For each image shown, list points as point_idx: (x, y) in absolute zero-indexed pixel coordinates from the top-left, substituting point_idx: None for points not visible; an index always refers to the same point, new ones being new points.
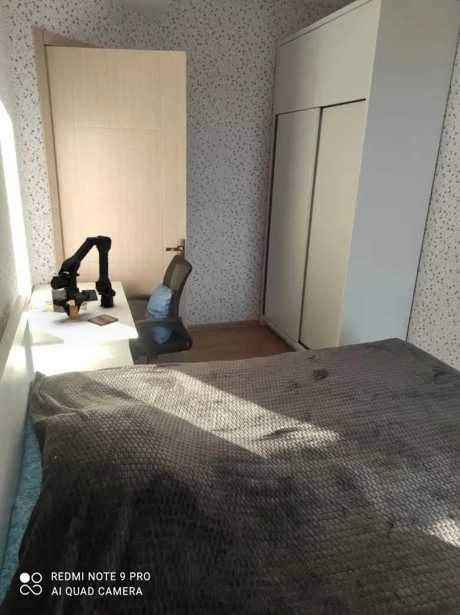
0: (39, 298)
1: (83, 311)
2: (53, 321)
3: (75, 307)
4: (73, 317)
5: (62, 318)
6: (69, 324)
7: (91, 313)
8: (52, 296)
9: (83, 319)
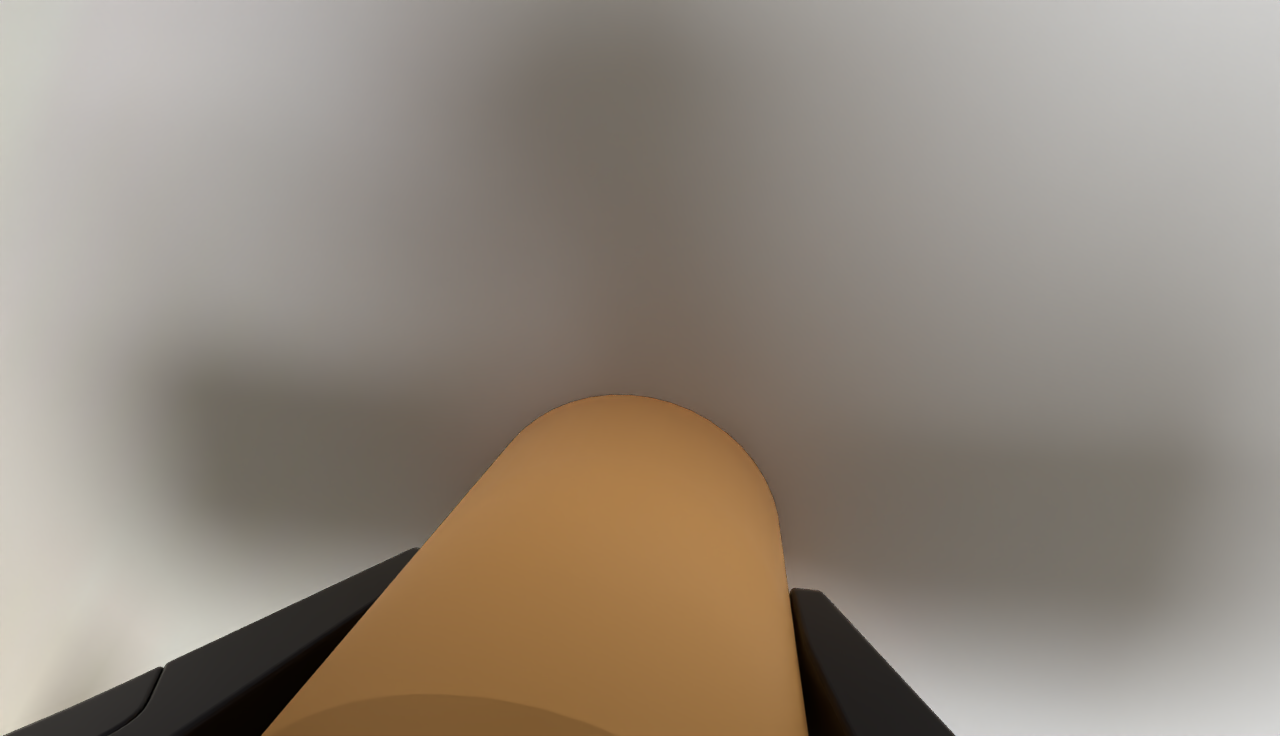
0: None
1: None
2: (1267, 719)
3: (478, 717)
4: (713, 449)
5: None
6: (1251, 70)
7: (72, 399)
8: None
9: (521, 140)
